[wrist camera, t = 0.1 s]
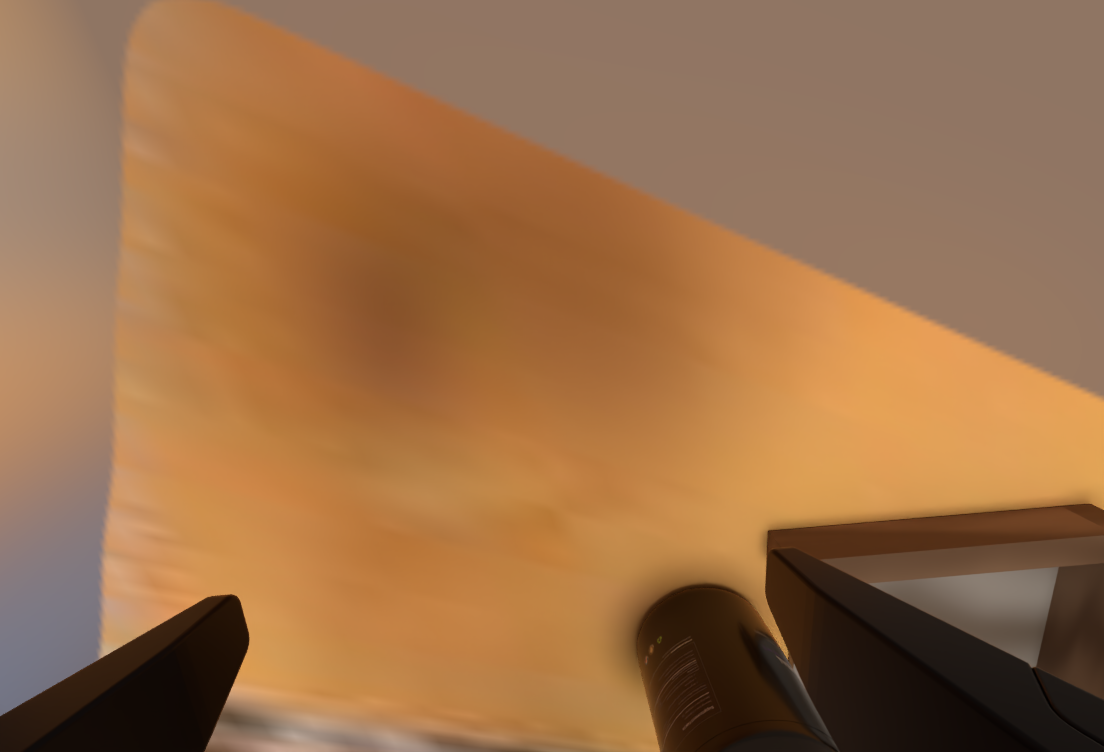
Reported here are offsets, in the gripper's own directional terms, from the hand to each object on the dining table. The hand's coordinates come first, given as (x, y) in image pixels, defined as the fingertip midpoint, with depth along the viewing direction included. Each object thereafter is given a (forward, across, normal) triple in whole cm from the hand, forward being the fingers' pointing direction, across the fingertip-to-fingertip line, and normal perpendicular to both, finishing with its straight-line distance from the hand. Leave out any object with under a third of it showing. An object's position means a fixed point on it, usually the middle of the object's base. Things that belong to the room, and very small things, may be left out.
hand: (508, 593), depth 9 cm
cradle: (+15, -19, +15) cm, 28 cm away
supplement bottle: (+15, -8, +15) cm, 23 cm away
